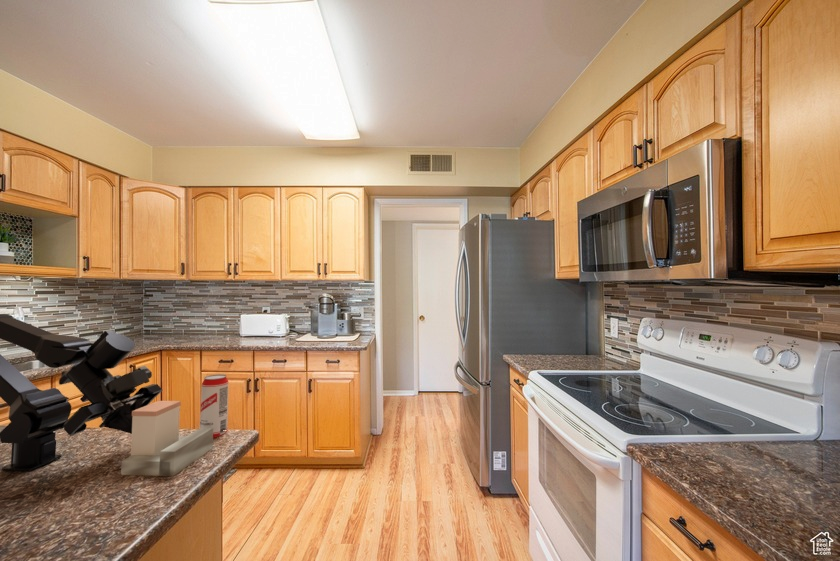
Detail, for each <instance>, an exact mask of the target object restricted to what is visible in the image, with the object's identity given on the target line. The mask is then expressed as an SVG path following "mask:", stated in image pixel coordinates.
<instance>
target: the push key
mask: <svg viewBox="0 0 840 561" xmlns="http://www.w3.org/2000/svg"><path fill="white" fill-rule="evenodd" d="M181 404H182V402H181V400H157V401H155V402H151V403H149V404H148V405H147V406H144V407H142V408H139V409H136V410H134V411H132V416H133V418H132V434H131V442H130V446H131V447H130V456H132V455H142V456H160V451H162V450H163V449H165V448H167V447H169V446H170V445H172V444H174V443H175V442H177V441H179V436H180V415H181V414H180V412H181V411H180V410H181V409H180V407H181V406H182V405H181Z"/></svg>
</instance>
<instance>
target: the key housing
mask: <svg viewBox="0 0 840 561" xmlns="http://www.w3.org/2000/svg"><path fill="white" fill-rule="evenodd" d="M213 439H214V437H213V428H200V427H199V428H198V429H197V430H195V431H193V432H191V433H190V434H187V435H182V436H181V435H179V441H177V442H175V443H174V444H172V445H170V446H169V447H167V448H165V449H163V450H162V451H160V456H142V455H132V456H131V455H129V456H128V457H126V458H124V459H122V460H121V467H120V468H121V471H120V475H121V476H159V477H161V476H165V477H166V476H171V477H172V476H173V477H174V476H175V475H178V473H180V472H181V471H183V470H184V469H186V468H187V467H188V466H190V465H191V464H192V463H194V462H196V461H197V460H199V459H200V458H201V457H202V456H204V455H205V454H207V453H208V452H210V451H211V450H212V449H213V443H214V440H213Z"/></svg>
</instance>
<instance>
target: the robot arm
mask: <svg viewBox="0 0 840 561" xmlns="http://www.w3.org/2000/svg"><path fill="white" fill-rule="evenodd" d="M0 340H2V341H6V342H8V343H10V344H12V345H15V346H18V347H21V348H23V349H26V350H28V351H30V352H32V353H33V354H34V357H35V359H36V360H37V361H39V362H40V363H42V364H44V365H45V366H47V367H48V368H51V369H57V368H61V367H68V366H71V367H70V369H68V370H64V371H62V372H61V376H60V378H59V380H58V384H59V385H60V386H61V385H66V384H70V383H72V384H73V385H74V386H75V387H76V388H77V390H78V391H79V392H80V393H81V394H82V396H81V397H80V399H79V400H80V401H81V403H85V402H88V401H89V403H90V404H87V405H82V406H81V407H79V408H78V409H77V410H76V411H75V412H74V413H72V415H71V412H72V404H71V403H70V401H69V399H70V398H69V397H67V396H65V395H64V394H63V393H62V392H61V391H60V389H58V388H56V387H51V388H48V389H44V390H43V389H40V388H38V387H37V386H35V384H34V383H33V382H31V381H30V379H28V378H27V377H26V376H25V375H24V374H23V373H21V371H19V369H17V368H16V367H15V366H14V365H13V364H12V363H10V361H8V360H7V359H6V358H5V356H3V355H2V354H1V353H0V398H1V399H2V400H3V401H4V402H5V403H6V404H7V405H8V406H9V412H8V420H9V423H8V424H7V425H6V426H5V427H4V428H3V429H2V430H1V431H0V443H1V444H11V455H10V464H7V465H5V466H2V467H1V471H22V472H23V471H25V472H26V471H27V472H29V471H33V470H35V469H37V468H40V467H42V466H44V465H46V464H49V463H51V462H53V461H55V460H58V459H61V458H62V454H56V452H57V439H56V435H57V434H56V431H58V430H63V429H64V431H65V433H67V434H68V435H69V437H73V436H75V435H77V434H80V433H82V432H85V430H86V429H87V426H88V425H87V423H89V422H90V421H93V420H96V419H99V418H101V421H102V422H101V423H100V424H99V425H98V428H100V429H102V428H107V429H112V430H116V431H120V432H125V433H128V434H130V435H132V418H133V416H132V411H134V410H136V409H139V408H142V407H144V406H147V405H149V404H151V403H152V402H153V401H154V400H155V399H156V398H157V397H158V395H160V394H161V393H162V392H163V389H162V387H160V385H159V384H158V383H157V384H156V383H152V384H149V385H145V386H143V387H140V388H139V389H138V390H137V387H139V386H142V385H144V384H147V383H149V382H150V379H152V377H153V376H152V375H153V374H152V371H151V370H150V369H149V368H148V367H147V366H145V365H144V366H139V367H138V368H135V369H133V370H132V371H131V372H127V373H125V374H124V375H123V374H122V375H120V374H118V375H114V376H113V374H112V373H111V372H110V371H109V369H111V370H112V369H115V368H116V367H118V365H119V364H120V363H121V362H122V361H123V360H124V359H125V358H126V357H127V356H129V354H130V353H131V352H132V351H133V350H134V349H135V347H136V344H135V342H134V340H133V339H132V338H129V337H127V336H125V335H123V334H120V333H117V332H116V331H115V330H105V331H103V332H102V333H101V334H100V336H99V337H98V338H97V340H95V341H94V342H91V341H90V340H88V339H87V338H84V337H81V336H74V335H63V334H57V333H52V332H50V331H48V330H45V329H43V328H40V327H37V326H34V325H33V324H30V323H27V322H25V321H22V320H21V319H17V318H14V316H13V315H11V314H6V313H0ZM135 392H136V393H135ZM132 394H133V395H132ZM131 395H132V396H131ZM70 415H71V416H70Z"/></svg>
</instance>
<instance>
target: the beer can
mask: <svg viewBox="0 0 840 561" xmlns="http://www.w3.org/2000/svg"><path fill="white" fill-rule="evenodd" d="M203 378H204V380H203V381H202V383H201V387H200V389H201V390H200V392H201V393H200V410H199V412H200V413H199V414H200V415H199V416H200V418H199V429H200V428H213V438H217V437H221V436H223V435H225V434H227V432H228V422H229V420H228V419H229V418H228V417H229V416H228V415H229V389H230V388H229V384H230V383H229V380H228V378H227V375H226V374H220V373H219V374H211V375H207V376H204V377H203ZM223 430H227V431H223Z"/></svg>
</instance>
